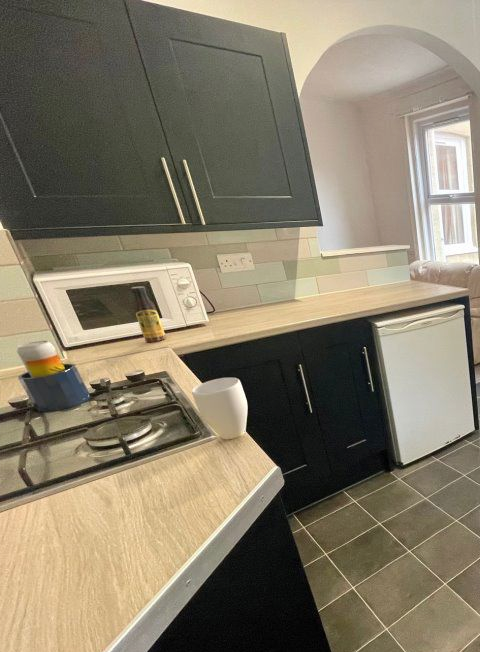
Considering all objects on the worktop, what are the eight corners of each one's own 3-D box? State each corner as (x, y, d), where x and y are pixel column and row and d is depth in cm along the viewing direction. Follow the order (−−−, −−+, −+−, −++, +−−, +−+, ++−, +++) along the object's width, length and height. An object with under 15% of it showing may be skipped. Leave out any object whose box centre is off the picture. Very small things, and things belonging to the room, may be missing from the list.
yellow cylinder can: (82, 397, 108) (54, 341, 102) (50, 406, 103) (18, 349, 97) (74, 392, 111) (46, 338, 105) (42, 402, 106) (11, 346, 100)
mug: (261, 433, 88) (245, 383, 84) (216, 449, 83) (196, 397, 78) (244, 415, 96) (228, 370, 92) (202, 429, 91) (183, 381, 86)
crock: (37, 416, 101) (18, 382, 97) (36, 405, 107) (18, 372, 103) (93, 401, 108) (76, 369, 104) (88, 391, 114) (73, 360, 110)
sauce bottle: (146, 344, 154) (123, 289, 146) (145, 340, 158) (124, 287, 150) (168, 340, 158) (147, 286, 150) (167, 336, 162) (147, 284, 154)
